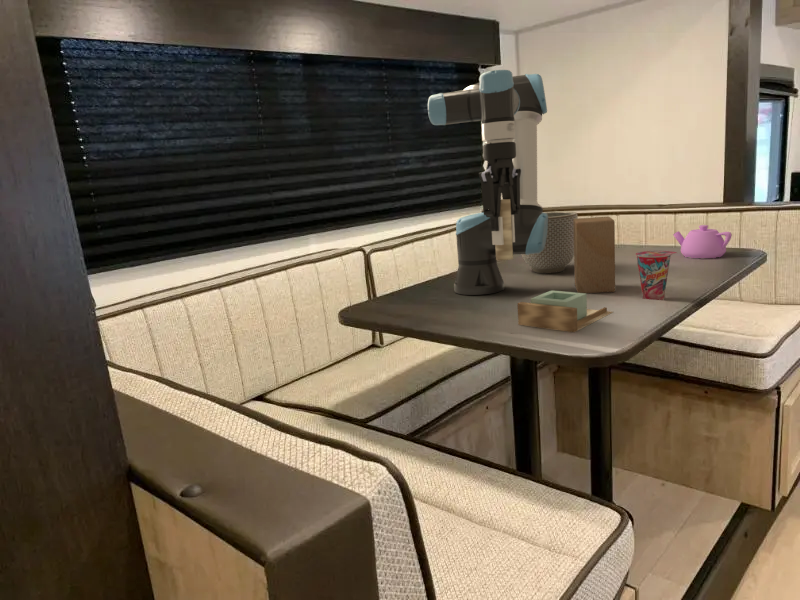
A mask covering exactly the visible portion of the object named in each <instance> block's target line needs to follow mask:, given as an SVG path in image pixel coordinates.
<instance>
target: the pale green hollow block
mask: <svg viewBox="0 0 800 600" xmlns="http://www.w3.org/2000/svg"><path fill="white" fill-rule="evenodd" d="M587 299H588V297H587V293H578V292H572V291H561V290H552V289H551V290H549V291H547V292H543V293H541V294H539V295H536V296H534V297H532V298H530V303H535V304H545V305H554V306H563V307H572V308H577V321H578V320H580V319H582V318H584V317H586V316H587V309H588V308H587V307H588V305H587V302H588V301H587Z"/></svg>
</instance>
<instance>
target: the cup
mask: <svg viewBox="0 0 800 600" xmlns="http://www.w3.org/2000/svg"><path fill="white" fill-rule="evenodd" d="M673 254H678V252H676V251H669V250H668V251H667V250H647V251H639V252H636V253H635V256H636V260H637V267H638V274H639V281H640V289H641V290H640V291H641V296H642V297H641V298H642V299H643V300H652V301H664V300H665V297H666V288H667V282H668V274H669V269H670V261H671V258H672V257H671V256H672V255H673Z"/></svg>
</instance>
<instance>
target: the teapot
mask: <svg viewBox="0 0 800 600" xmlns="http://www.w3.org/2000/svg"><path fill="white" fill-rule="evenodd" d="M672 235H673V236H674V238H675V240H676V241H677V242H678V244H679V245H680V253H681V254H682V256H683V257H684V256H685V258H686V257H691V258H713V259H717V258H716V257H719V258H721V257H723V256H724V255H725V253H726V252H727V246H728V244H729V243H730V241H731V239H732V233H731V231H723V232H719V230H717V229H714V228H709V225H708V224H707V225H706V224H701V225H699V226H698V229H697V228H696V229H691V230H690V231H689V232H688V233H687V234H686V236H685V237H684V236H683V235H682V233H681V232H680V231H679V230H678V231H676V232H675V233H673V234H672ZM723 236H725V240H724V238H723ZM691 258H690V259H691Z"/></svg>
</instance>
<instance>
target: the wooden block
mask: <svg viewBox="0 0 800 600" xmlns="http://www.w3.org/2000/svg"><path fill="white" fill-rule="evenodd" d="M615 226H616V225H615V220H614V219H613V218H612V217H610V216H596V217H594V216H593V217H582V218H581V217H580V218H578V219H574V220H573V228H574V257H573V260H574V261H573V262H574V263H573V265H574V286H575V287H574V288H575V289H576V293H586V294H600V293H614V292H615V291H616V264H615V263H616V249H615V248H616V247H615V246H616V239H615V232H616V231H615V230H616V229H615Z"/></svg>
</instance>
